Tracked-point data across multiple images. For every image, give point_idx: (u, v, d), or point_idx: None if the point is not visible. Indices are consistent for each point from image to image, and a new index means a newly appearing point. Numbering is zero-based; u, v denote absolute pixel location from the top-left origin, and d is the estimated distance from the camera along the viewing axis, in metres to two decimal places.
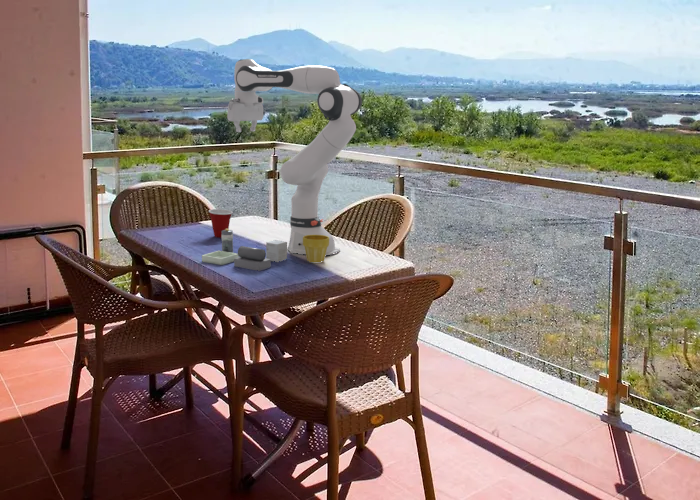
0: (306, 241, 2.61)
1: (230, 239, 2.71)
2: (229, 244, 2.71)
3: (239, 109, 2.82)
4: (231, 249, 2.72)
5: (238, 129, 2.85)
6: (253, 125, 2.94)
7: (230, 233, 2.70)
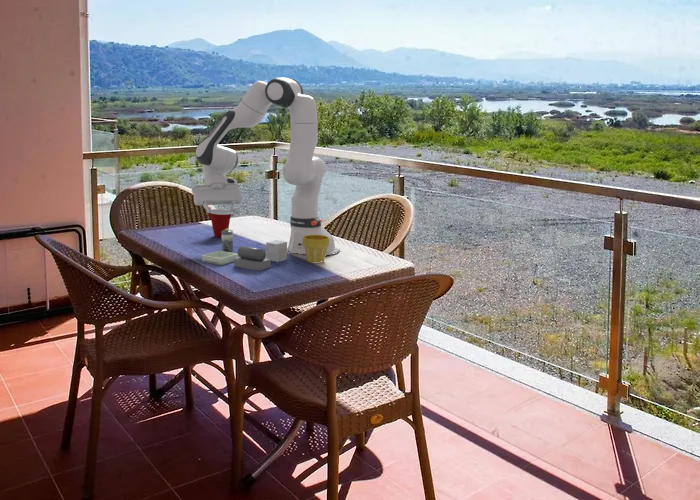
0: (306, 241, 2.61)
1: (230, 239, 2.71)
2: (229, 244, 2.71)
3: (204, 191, 2.83)
4: (231, 249, 2.72)
5: None
6: (232, 206, 2.84)
7: (230, 233, 2.70)
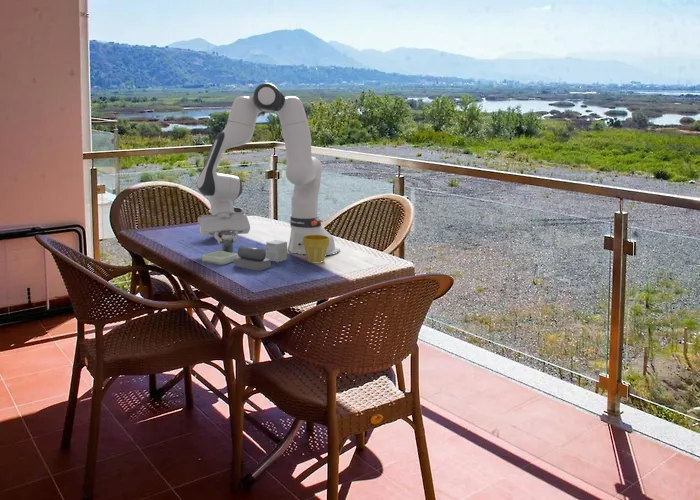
0: (306, 241, 2.61)
1: (230, 239, 2.71)
2: (229, 244, 2.71)
3: (210, 221, 2.73)
4: (231, 249, 2.72)
5: (218, 239, 2.71)
6: (235, 236, 2.74)
7: (230, 233, 2.70)
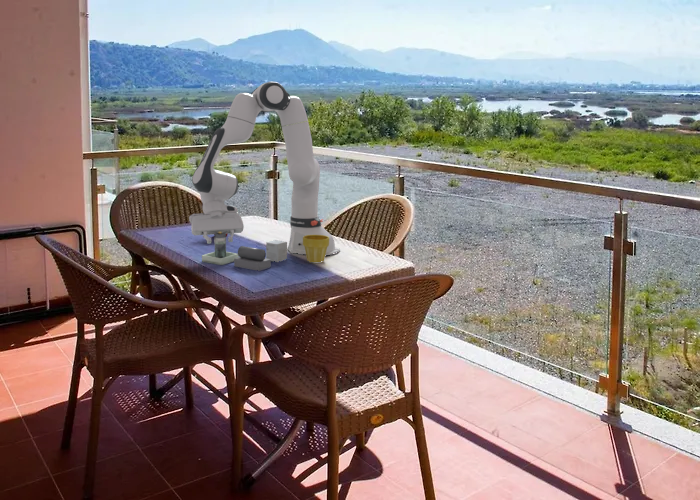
0: (306, 241, 2.61)
1: (223, 242, 2.61)
2: (222, 247, 2.61)
3: (202, 220, 2.63)
4: (224, 253, 2.62)
5: None
6: None
7: (223, 236, 2.61)
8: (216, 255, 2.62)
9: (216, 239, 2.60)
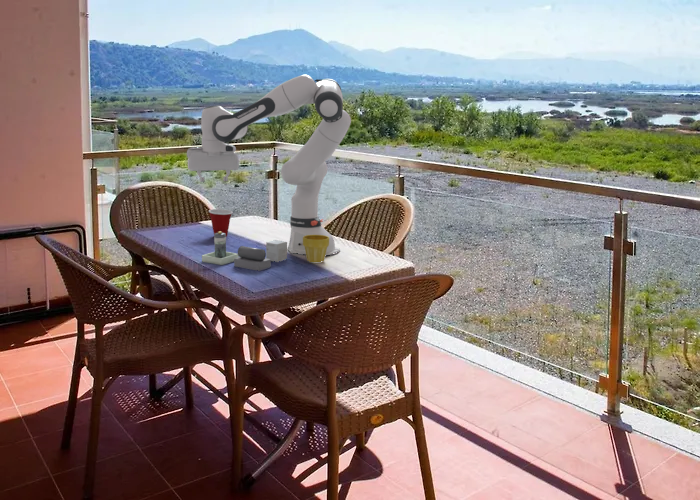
0: (306, 241, 2.61)
1: (223, 242, 2.61)
2: (222, 247, 2.61)
3: (199, 158, 2.67)
4: (224, 253, 2.62)
5: (200, 179, 2.70)
6: (226, 175, 2.74)
7: (223, 236, 2.61)
8: (216, 255, 2.62)
9: (216, 239, 2.60)
